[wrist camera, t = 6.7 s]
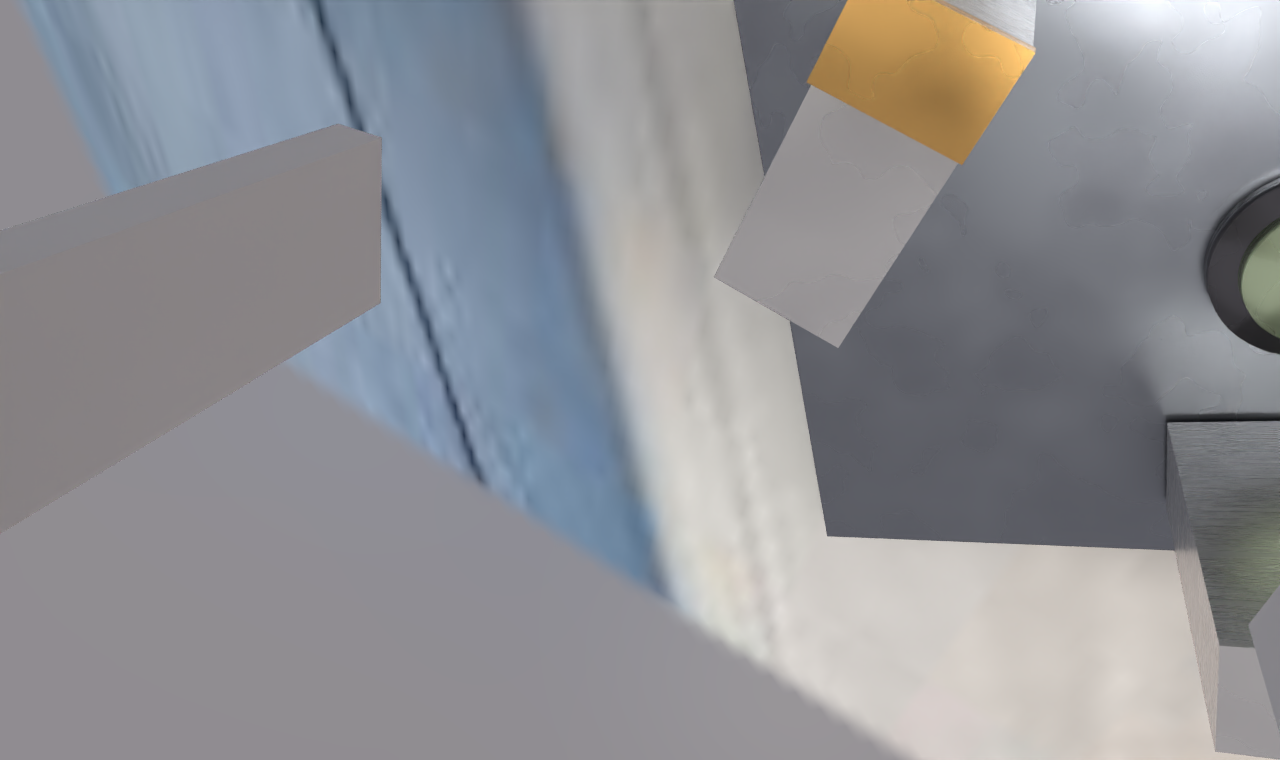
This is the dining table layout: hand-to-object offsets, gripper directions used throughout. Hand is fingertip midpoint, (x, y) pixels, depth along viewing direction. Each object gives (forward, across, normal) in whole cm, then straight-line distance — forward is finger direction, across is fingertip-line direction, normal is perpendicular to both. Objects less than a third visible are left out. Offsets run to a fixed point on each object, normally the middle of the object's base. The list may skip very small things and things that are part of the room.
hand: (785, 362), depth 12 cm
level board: (+19, +11, -1) cm, 22 cm away
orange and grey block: (+18, 0, 0) cm, 18 cm away
